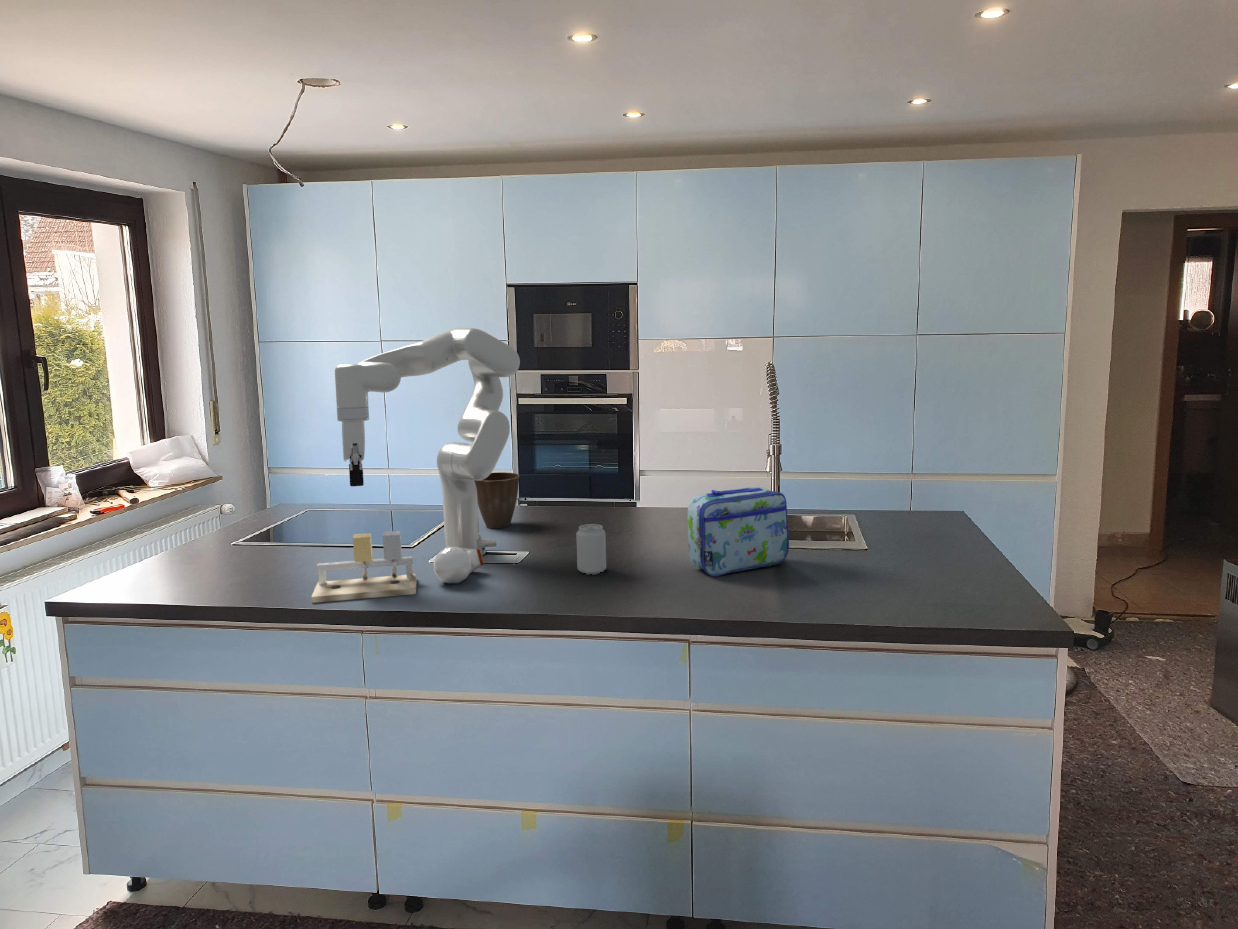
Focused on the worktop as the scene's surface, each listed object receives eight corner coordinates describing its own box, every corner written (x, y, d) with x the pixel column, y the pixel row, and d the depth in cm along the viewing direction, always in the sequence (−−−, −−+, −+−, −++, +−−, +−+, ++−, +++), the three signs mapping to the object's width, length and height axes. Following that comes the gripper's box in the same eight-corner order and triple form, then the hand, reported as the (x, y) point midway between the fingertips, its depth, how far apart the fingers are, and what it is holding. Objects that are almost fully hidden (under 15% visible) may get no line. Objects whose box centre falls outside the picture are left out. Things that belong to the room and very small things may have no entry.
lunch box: (702, 580, 218) (701, 497, 214) (683, 569, 228) (682, 489, 224) (792, 567, 227) (793, 487, 224) (771, 556, 237) (771, 480, 233)
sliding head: (375, 574, 221) (371, 530, 219) (373, 582, 214) (369, 536, 212) (358, 575, 220) (355, 531, 218) (356, 584, 213) (352, 538, 211)
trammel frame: (414, 575, 223) (410, 527, 221) (413, 583, 216) (410, 534, 214) (319, 583, 218) (314, 534, 216) (315, 591, 212) (311, 541, 209)
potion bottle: (438, 594, 217) (468, 583, 231) (466, 573, 214) (495, 564, 228) (419, 562, 218) (450, 553, 232) (446, 541, 215) (477, 533, 229)
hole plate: (416, 579, 224) (416, 573, 224) (415, 594, 213) (415, 587, 212) (318, 587, 219) (317, 581, 219) (311, 603, 208) (311, 596, 208)
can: (581, 576, 223) (579, 530, 221) (574, 568, 230) (573, 524, 228) (609, 573, 225) (608, 528, 223) (602, 565, 232) (601, 521, 230)
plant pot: (468, 523, 282) (466, 474, 280) (513, 518, 289) (510, 470, 286) (481, 533, 269) (479, 482, 266) (528, 527, 275) (525, 477, 272)
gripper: (337, 411, 224) (341, 478, 227) (336, 418, 208) (340, 489, 210) (367, 410, 226) (371, 476, 229) (369, 417, 210) (373, 487, 212)
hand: (356, 482), depth 219 cm, fingers open, 9 cm apart
